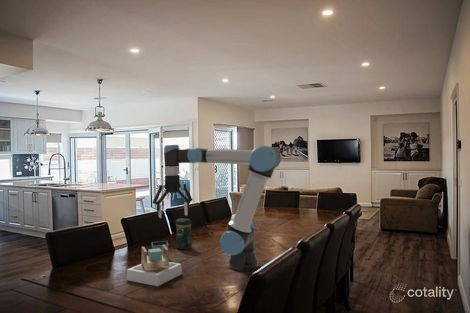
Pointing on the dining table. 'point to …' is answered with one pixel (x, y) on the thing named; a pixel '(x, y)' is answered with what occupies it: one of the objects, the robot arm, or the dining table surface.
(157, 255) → the teal block
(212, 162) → the robot arm
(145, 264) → the tan plastic holder
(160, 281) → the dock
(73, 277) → the dining table surface
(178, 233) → the coffee jar
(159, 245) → the flower pot
